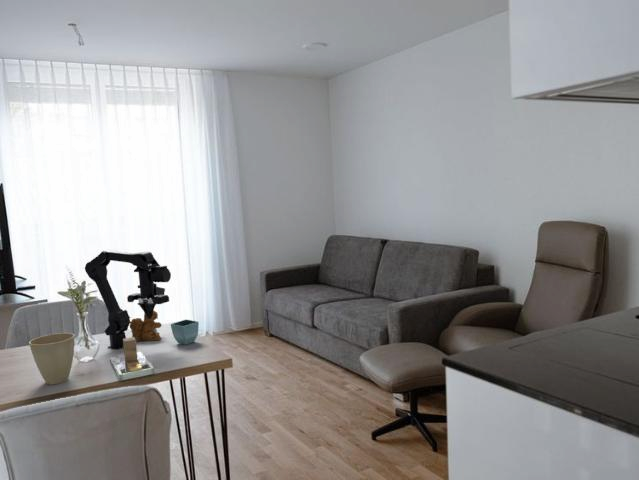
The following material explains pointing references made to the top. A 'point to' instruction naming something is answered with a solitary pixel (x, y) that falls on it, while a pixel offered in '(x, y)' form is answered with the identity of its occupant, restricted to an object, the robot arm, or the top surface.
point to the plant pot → (54, 356)
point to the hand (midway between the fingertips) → (149, 318)
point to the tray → (135, 372)
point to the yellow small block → (134, 367)
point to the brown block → (130, 352)
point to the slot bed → (121, 362)
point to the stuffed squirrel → (145, 328)
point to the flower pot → (185, 331)
